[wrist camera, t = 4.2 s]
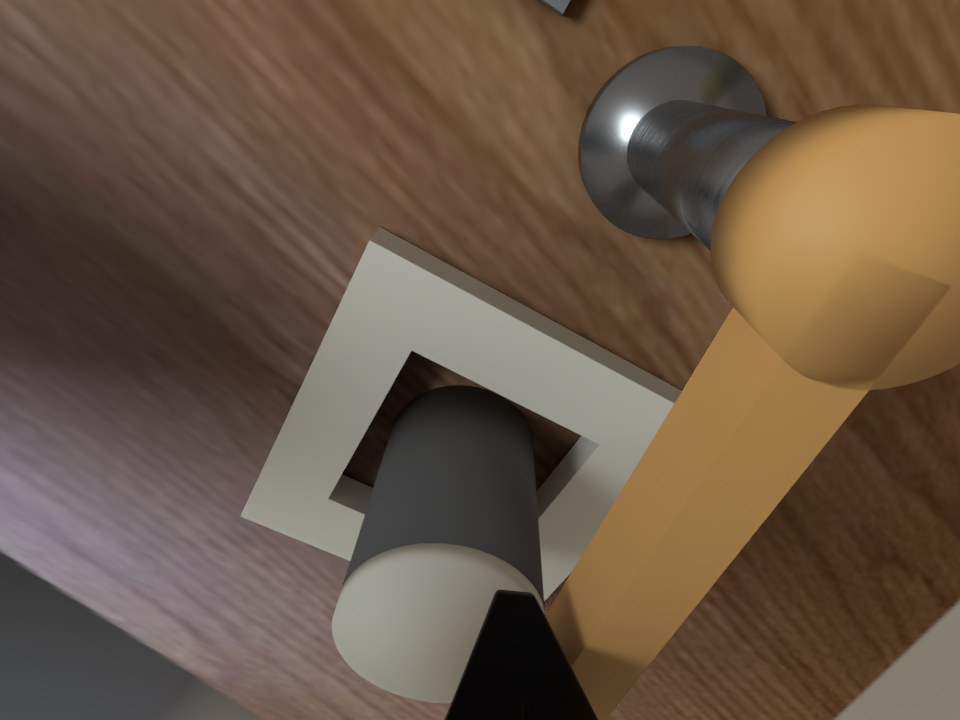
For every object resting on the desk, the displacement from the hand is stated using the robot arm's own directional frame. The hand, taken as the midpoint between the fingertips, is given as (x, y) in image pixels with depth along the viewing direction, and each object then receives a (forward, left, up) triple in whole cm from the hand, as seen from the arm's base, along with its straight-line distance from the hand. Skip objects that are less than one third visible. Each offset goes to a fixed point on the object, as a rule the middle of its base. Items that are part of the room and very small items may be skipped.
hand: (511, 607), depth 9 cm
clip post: (0, +7, -8) cm, 10 cm away
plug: (0, -3, -8) cm, 8 cm away
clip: (+1, +2, 0) cm, 2 cm away
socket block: (0, -3, -8) cm, 8 cm away
